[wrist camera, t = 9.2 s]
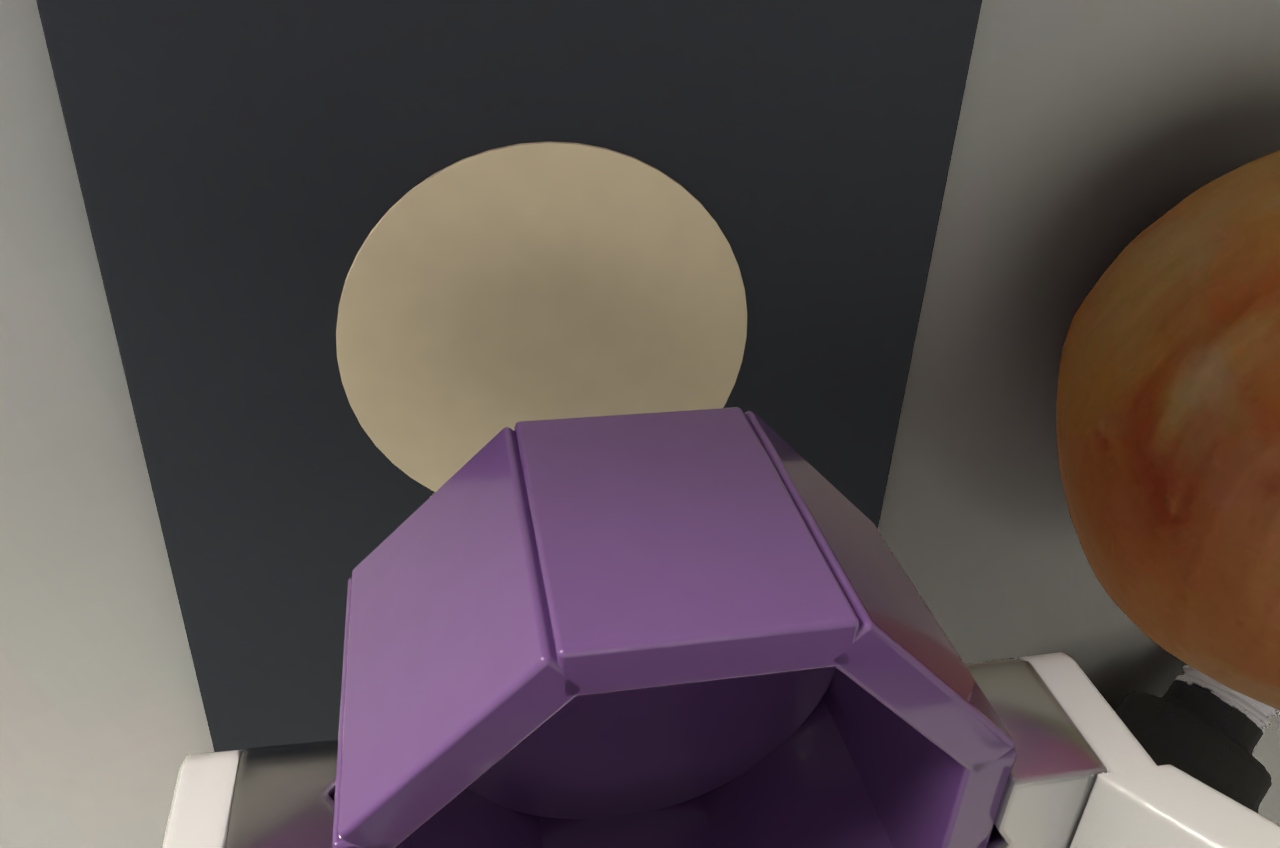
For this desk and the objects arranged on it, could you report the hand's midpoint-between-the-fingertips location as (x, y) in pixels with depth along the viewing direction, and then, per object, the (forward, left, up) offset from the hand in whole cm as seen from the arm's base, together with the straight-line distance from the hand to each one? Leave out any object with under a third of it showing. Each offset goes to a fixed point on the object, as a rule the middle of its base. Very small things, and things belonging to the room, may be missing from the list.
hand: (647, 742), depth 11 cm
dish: (0, 0, -2) cm, 2 cm away
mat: (0, +6, -9) cm, 11 cm away
